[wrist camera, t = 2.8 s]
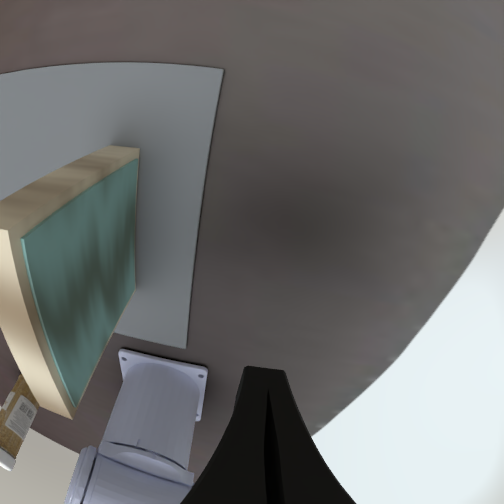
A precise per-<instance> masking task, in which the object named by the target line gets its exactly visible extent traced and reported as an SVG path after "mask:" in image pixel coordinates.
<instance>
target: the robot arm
mask: <svg viewBox="0 0 504 504" xmlns="http://www.w3.org/2000/svg"><path fill="white" fill-rule="evenodd" d="M119 360H120V366H121V371H122V376H123V384H122V386H121V389H120V391H119V394H118V397H117V399H116V402H115V405H114V408H113V410H112V413H111V416H110V419H109V422H108V424H107V427H106V430H105V433H104V436H103V439H102V441H101V443H100V445H99V447H98V449H97V451H96V448H95V447H93V446H88V448H87V447H86V448H83V449H82V450H81V453H80V455H79V458H78V461H77V464H76V467H75V470H74V473H73V476H72V479H71V482H70V485H69V488H68V492H67V495H66V498H65V502H64V504H356V503H355V502H354V500H353V499H352V498H351V497H350V496H349V494H348V493H347V492H346V491H345V490H344V488H343V487H342V486H341V485H340V483H339V482H338V480H337V479H336V478H335V476H334V475H333V473H332V472H331V470H330V469H329V467H328V466H327V464H326V463H325V461H324V459H323V458H322V456H321V454H320V453H319V451H318V449H317V448H316V445H315V443H314V442H313V440H312V438H311V436H310V434H309V432H308V430H307V428H306V425H305V423H304V421H303V419H302V416H301V414H300V412H299V409H298V407H297V405H296V402H295V399H294V397H293V394H292V391H291V389H290V386H289V383H288V379H287V376H286V373H285V372H284V370H277V369H269V368H261V367H254V366H246V367H244V370H243V374H242V377H241V381H240V384H239V388H238V391H237V395H236V400H235V406H234V411H233V415H232V417H231V420H230V422H229V424H228V426H227V428H226V430H225V433H224V435H223V437H222V439H221V441H220V443H219V445H218V447H217V448H216V450H215V452H214V454H213V456H212V457H211V459H210V461H209V462H208V464H207V466H206V467H205V469H204V471H203V472H202V474H201V475H200V477H199V478H198V480H197V481H196V483H193V479H194V473H192V472H189V471H187V469H188V463H189V456H190V450H191V444H192V438H193V432H194V426H195V421H200V420H201V414H202V407H203V400H204V393H205V386H206V380H207V373H208V370H207V368H205V367H203V366H198V365H193V364H188V363H183V362H178V361H173V360H168V359H164V358H159V357H155V356H151V355H146V354H142V353H138V352H134V351H130V350H126V349H120V350H119Z"/></svg>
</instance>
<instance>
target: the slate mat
mask: <svg viewBox="0 0 504 504" xmlns="http://www.w3.org/2000/svg"><path fill="white" fill-rule="evenodd" d="M223 74H224V69H217V68H209V67H200V66H190V65H178V64H163V63H133V62H116V63H86V64H72V65H60V66H51V67H43V68H35V69H28V70H22V71H16V72H10V73H5V74H0V201H1V200H3V199H4V198H6V197H8V196H9V195H11V194H13V193H15V192H16V191H18V190H20V189H21V188H23V187H25V186H27V185H29V184H30V183H32V182H34V181H36V180H38V179H40V178H41V177H43V176H45V175H47V174H49V173H51V172H53V171H55V170H57V169H59V168H61V167H63V166H65V165H67V164H69V163H71V162H73V161H75V160H77V159H80V158H82V157H84V156H86V155H88V154H91V153H93V152H95V151H97V150H100V149H102V148H104V147H107V146H109V145H113V146H123V147H133V148H140V153H139V165H138V179H137V196H136V222H135V283H136V291H135V292H134V294H133V296H132V298H131V300H130V302H129V303H128V305H127V307H126V309H125V311H124V313H123V315H122V317H121V318H120V320H119V322H118V324H117V326H116V328H115V330H114V332H115V333H118V334H122V335H126V336H130V337H134V338H138V339H142V340H147V341H151V342H155V343H160V344H164V345H169V346H173V347H178V348H183V349H186V346H187V335H188V323H189V312H190V301H191V290H192V281H193V271H194V262H195V253H196V245H197V236H198V228H199V221H200V213H201V206H202V198H203V191H204V184H205V178H206V171H207V164H208V158H209V152H210V146H211V140H212V134H213V128H214V122H215V116H216V111H217V105H218V100H219V95H220V89H221V84H222V79H223Z"/></svg>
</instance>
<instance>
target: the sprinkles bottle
mask: <svg viewBox="0 0 504 504" xmlns="http://www.w3.org/2000/svg"><path fill="white" fill-rule="evenodd" d="M39 406H40V405H39V403H38V402H37V400H36V398H35V397H34V395H33V393H32V391H31V390H30V388H29V386H28V384H27V382H26V380H25V378H24V377H23V375H22V374H20V375H19V377H18V380H17V382H16V384H15V385H14V387H13V389H12V391H11V392H10V394H9V395H8V397H7V399H6V401H5V403H4V405H3V407H2V409H1V411H0V466H1V467H3V468H5V469H7V470H9V471H12V469H13V467H14V465H15V462H16V460H15V459H16V456H17V454H18V451H19V449H20V447H21V445H22V442H23V441H24V439H25V437H26V434H27V432H28V430H29V428H30V426H31V424H32V421H33V419H34V417H35V415H36V413H37V410H38V408H39Z"/></svg>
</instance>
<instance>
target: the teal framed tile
mask: <svg viewBox="0 0 504 504" xmlns="http://www.w3.org/2000/svg"><path fill="white" fill-rule="evenodd" d="M139 153H140V148H133V147H123V146H113V145H109V146H107V147H104V148H102V149H100V150H97V151H95V152H93V153H91V154H88V155H86V156H84V157H82V158H80V159H77V160H75V161H73V162H71V163H69V164H67V165H65V166H63V167H61V168H59V169H57V170H55V171H53V172H51V173H49V174H47V175H45V176H43V177H41V178H40V179H38V180H36V181H34V182H32V183H30V184H29V185H27V186H25V187H23V188H21V189H20V190H18V191H16V192H15V193H13V194H11V195H9V196H8V197H6V198H4V199H3V200H1V201H0V327H1V329H2V332H3V334H4V336H5V339H6V341H7V343H8V346H9V348H10V350H11V352H12V354H13V356H14V359H15V361H16V363H17V365H18V367H19V369H20V371H21V373H22V375H23V377H24V378H25V380H26V382H27V384H28V386H29V388H30V390H31V391H32V393H33V395H34V397H35V398H36V400H37V402H38V403H39V405H40V406H41V407H43V408H46V409H48V410H50V411H52V412H55V413H57V414H60V415H62V416H65V417H67V418H70V419H72V420H73V418H74V415H75V413H76V411H77V408H78V406H79V404H80V401H81V399H82V397H83V395H84V392H85V390H86V388H87V386H88V384H89V381H90V379H91V377H92V375H93V373H94V371H95V369H96V366H97V364H98V362H99V360H100V358H101V356H102V354H103V352H104V350H105V348H106V346H107V344H108V342H109V340H110V338H111V336H112V334H113V332H114V330H115V328H116V326H117V324H118V322H119V320H120V318H121V317H122V315H123V313H124V311H125V309H126V307H127V305H128V303H129V302H130V300H131V298H132V296H133V294H134V292H135V291H136V283H135V222H136V196H137V179H138V165H139Z"/></svg>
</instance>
